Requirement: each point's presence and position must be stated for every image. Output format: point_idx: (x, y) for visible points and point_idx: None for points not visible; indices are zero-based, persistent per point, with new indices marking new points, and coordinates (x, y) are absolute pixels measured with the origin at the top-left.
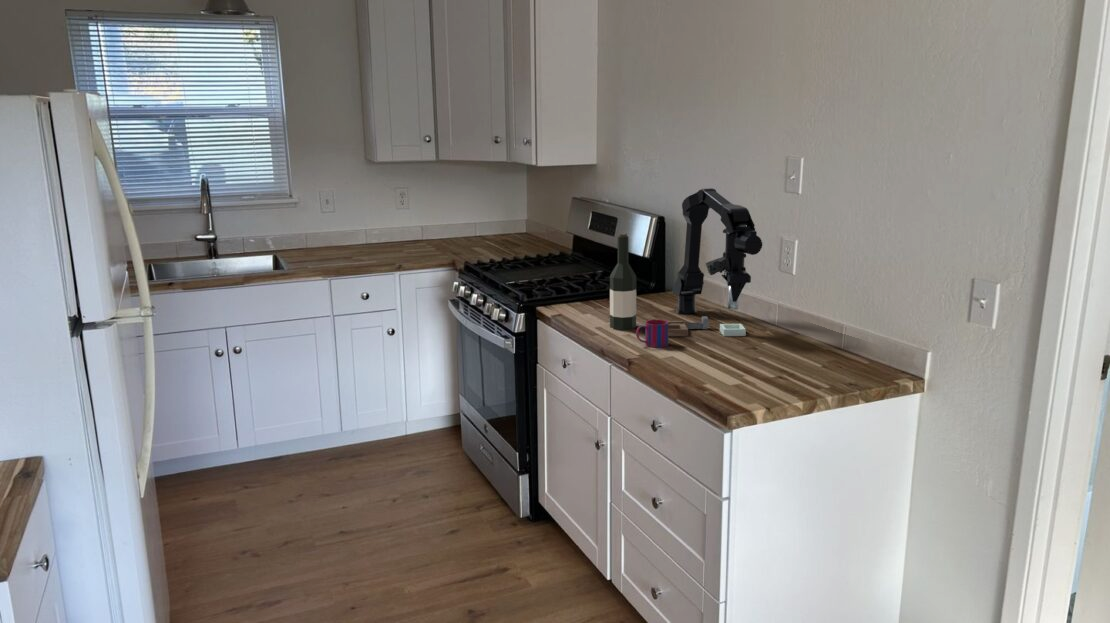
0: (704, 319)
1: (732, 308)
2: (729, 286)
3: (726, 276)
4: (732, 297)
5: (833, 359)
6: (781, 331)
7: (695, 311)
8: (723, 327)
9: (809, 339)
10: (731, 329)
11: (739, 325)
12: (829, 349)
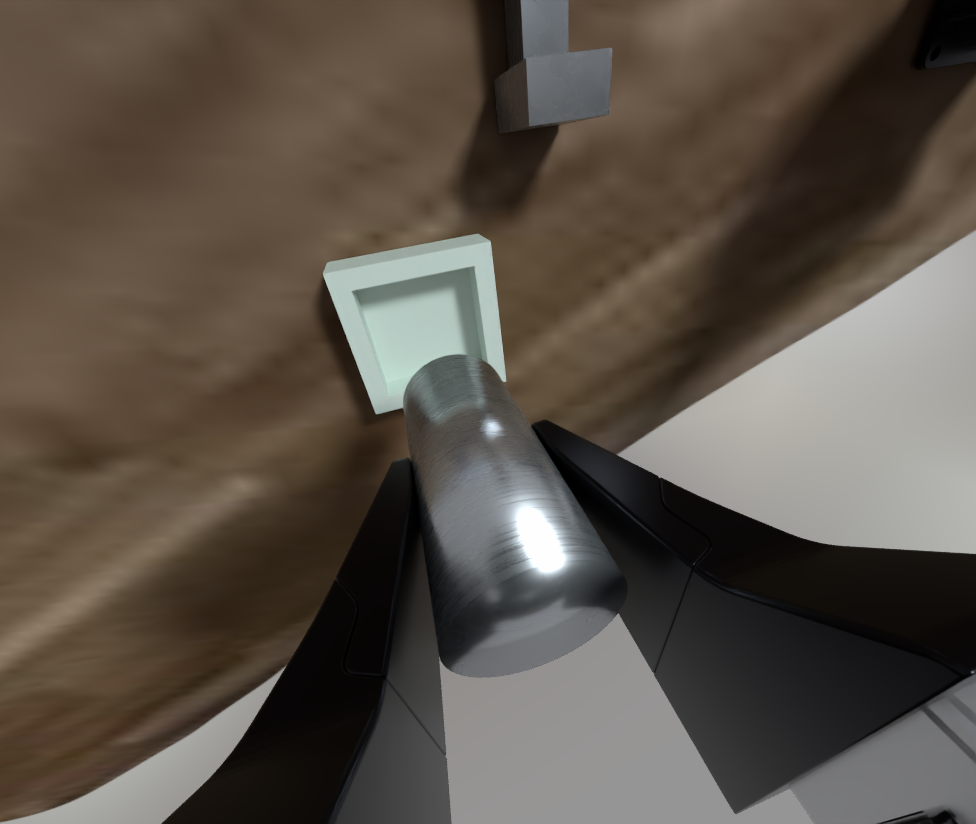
0: (523, 78)
1: (405, 406)
2: (484, 594)
3: (889, 723)
4: (374, 498)
5: (102, 693)
6: None
7: (946, 49)
8: (389, 270)
9: None
10: (344, 330)
11: None
12: (255, 657)
